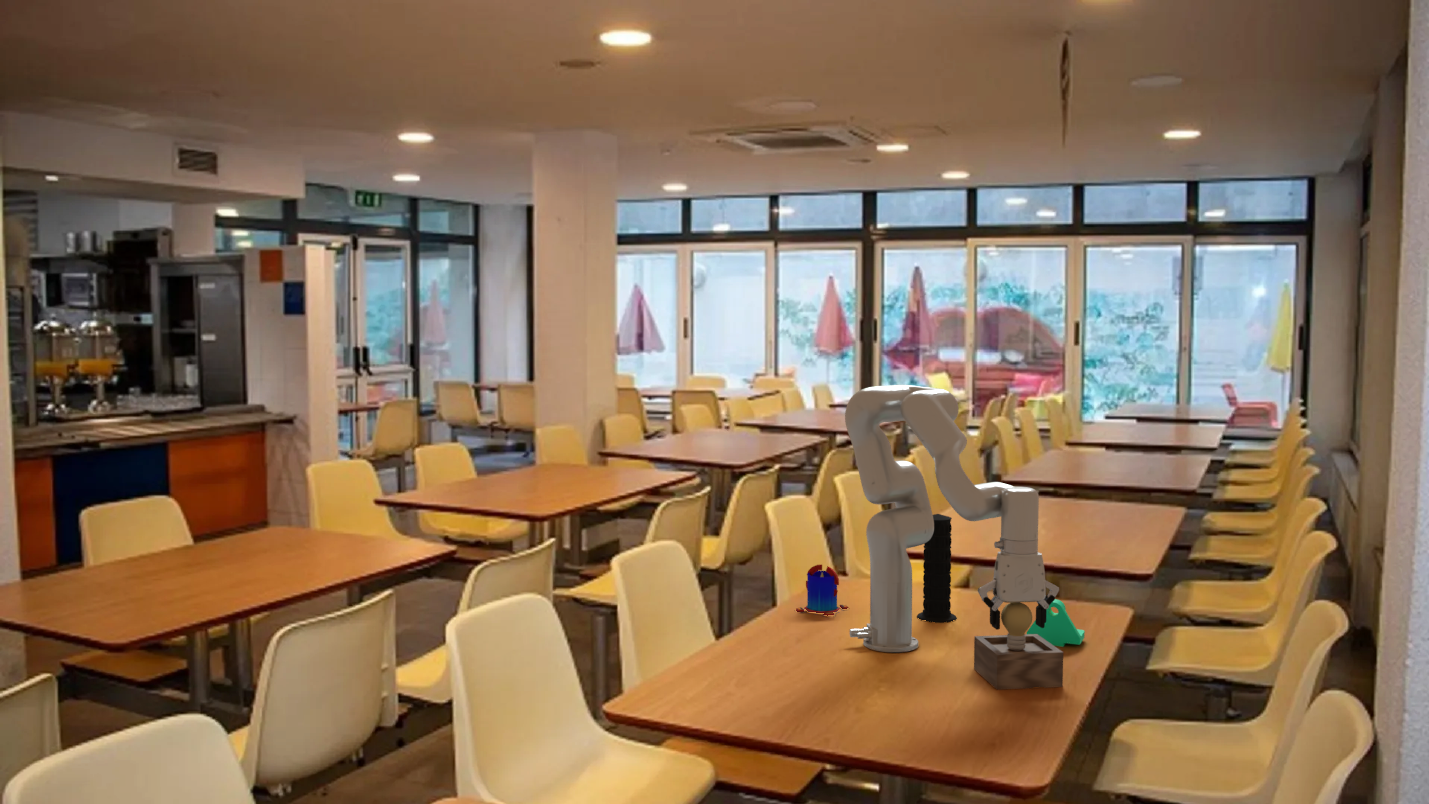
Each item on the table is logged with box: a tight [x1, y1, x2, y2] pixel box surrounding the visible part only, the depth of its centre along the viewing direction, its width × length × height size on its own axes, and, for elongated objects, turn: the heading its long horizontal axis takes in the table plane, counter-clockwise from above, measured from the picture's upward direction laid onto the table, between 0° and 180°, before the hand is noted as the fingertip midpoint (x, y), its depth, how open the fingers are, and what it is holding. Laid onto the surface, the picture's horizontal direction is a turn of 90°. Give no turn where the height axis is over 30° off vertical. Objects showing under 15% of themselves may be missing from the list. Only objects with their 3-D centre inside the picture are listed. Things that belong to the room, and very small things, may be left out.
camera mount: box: [1026, 598, 1086, 648], centre depth 278 cm, size 12×8×10 cm, turn 64°
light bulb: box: [1000, 602, 1033, 651], centre depth 250 cm, size 6×6×10 cm
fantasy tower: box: [795, 564, 849, 616], centre depth 308 cm, size 12×12×12 cm
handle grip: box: [916, 513, 958, 624], centre depth 299 cm, size 10×26×10 cm
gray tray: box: [973, 633, 1064, 690], centre depth 251 cm, size 14×14×7 cm
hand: (1017, 627), depth 250 cm, fingers open, 9 cm apart
